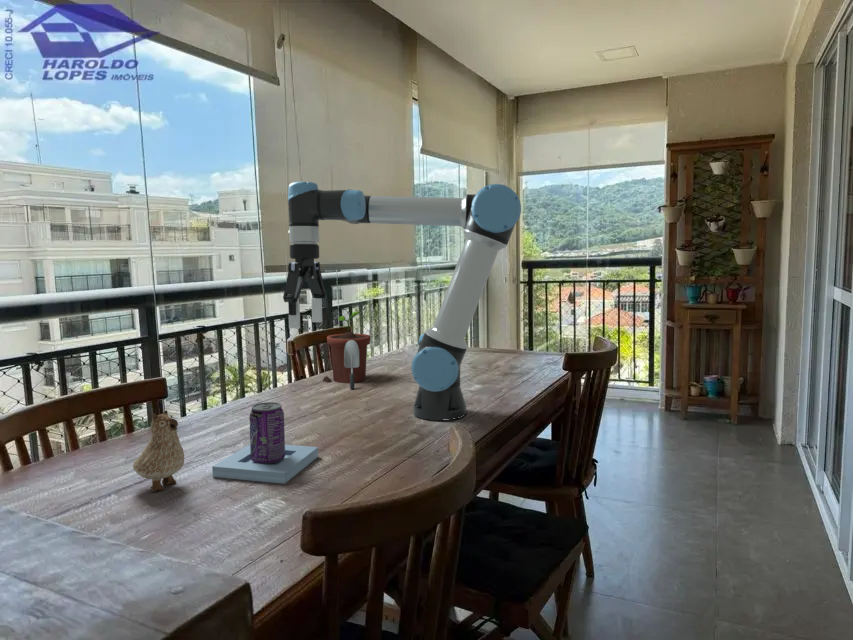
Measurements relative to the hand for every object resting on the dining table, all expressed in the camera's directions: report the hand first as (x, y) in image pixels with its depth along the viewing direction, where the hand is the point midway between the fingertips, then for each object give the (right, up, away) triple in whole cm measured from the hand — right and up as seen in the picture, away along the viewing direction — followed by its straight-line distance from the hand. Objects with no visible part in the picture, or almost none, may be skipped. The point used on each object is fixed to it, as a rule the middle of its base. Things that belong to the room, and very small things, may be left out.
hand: (306, 325), depth 152 cm
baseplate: (-2, -30, -28) cm, 41 cm away
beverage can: (-2, -29, -28) cm, 41 cm away
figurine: (-20, -31, -39) cm, 54 cm away
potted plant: (+3, -21, +56) cm, 60 cm away
